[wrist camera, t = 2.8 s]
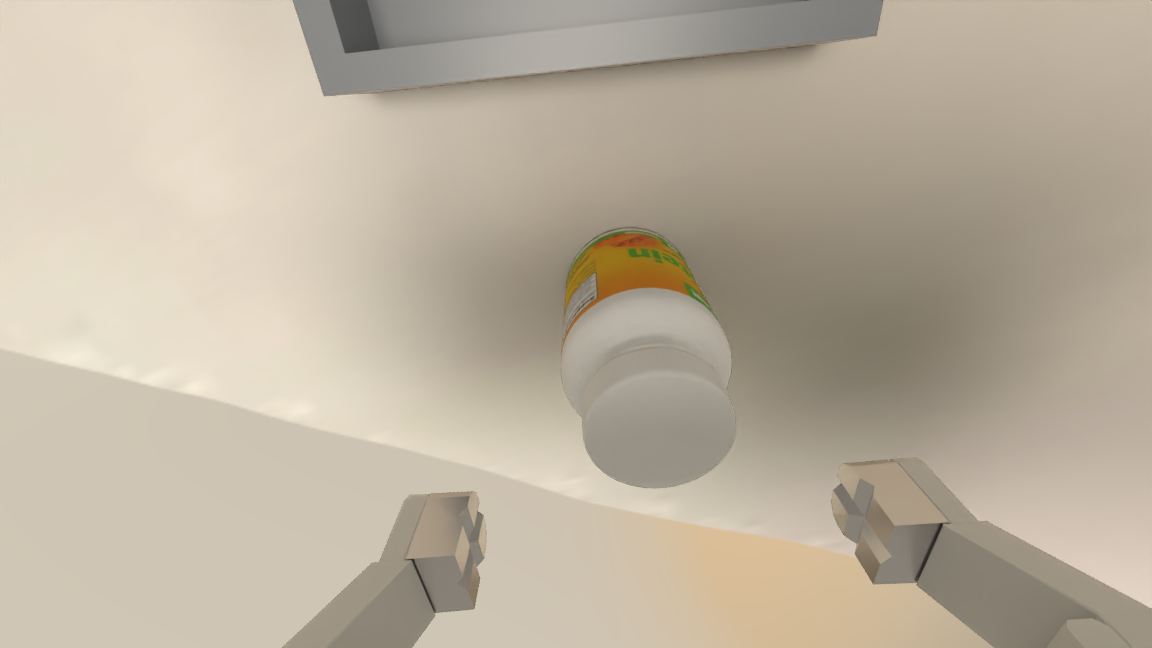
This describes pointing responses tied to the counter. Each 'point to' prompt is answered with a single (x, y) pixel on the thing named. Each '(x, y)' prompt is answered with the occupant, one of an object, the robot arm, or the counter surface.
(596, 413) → the supplement bottle
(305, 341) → the counter surface
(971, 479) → the counter surface
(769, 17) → the parts tray
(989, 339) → the counter surface
